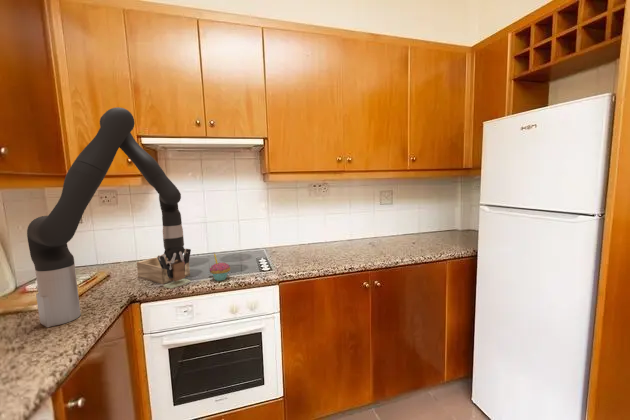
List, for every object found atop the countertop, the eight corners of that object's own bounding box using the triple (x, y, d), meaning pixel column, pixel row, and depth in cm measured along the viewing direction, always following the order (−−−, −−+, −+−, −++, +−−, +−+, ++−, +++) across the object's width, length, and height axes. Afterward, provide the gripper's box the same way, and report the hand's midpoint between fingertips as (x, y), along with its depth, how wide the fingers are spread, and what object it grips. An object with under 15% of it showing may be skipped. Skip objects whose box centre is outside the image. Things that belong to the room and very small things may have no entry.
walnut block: (168, 279, 121) (167, 263, 120) (178, 276, 125) (177, 260, 124) (175, 281, 119) (173, 264, 118) (185, 278, 123) (183, 261, 122)
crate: (162, 284, 122) (161, 268, 122) (138, 277, 132) (136, 262, 131) (190, 275, 133) (188, 260, 133) (165, 269, 143) (164, 255, 142)
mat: (170, 288, 117) (170, 287, 117) (163, 286, 120) (163, 285, 119) (190, 281, 125) (190, 280, 125) (183, 279, 127) (183, 278, 127)
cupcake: (209, 283, 122) (207, 255, 121) (210, 276, 130) (209, 250, 129) (230, 280, 124) (229, 253, 123) (230, 274, 132) (229, 248, 131)
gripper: (183, 232, 128) (186, 269, 130) (150, 238, 116) (154, 280, 118) (194, 233, 124) (197, 272, 126) (161, 240, 112) (165, 283, 114)
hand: (176, 275), depth 122 cm, fingers closed on walnut block, 4 cm apart
